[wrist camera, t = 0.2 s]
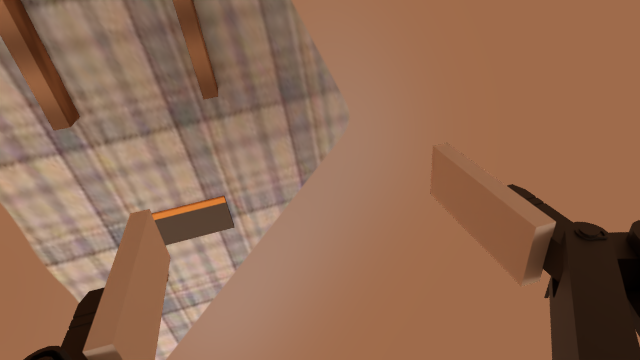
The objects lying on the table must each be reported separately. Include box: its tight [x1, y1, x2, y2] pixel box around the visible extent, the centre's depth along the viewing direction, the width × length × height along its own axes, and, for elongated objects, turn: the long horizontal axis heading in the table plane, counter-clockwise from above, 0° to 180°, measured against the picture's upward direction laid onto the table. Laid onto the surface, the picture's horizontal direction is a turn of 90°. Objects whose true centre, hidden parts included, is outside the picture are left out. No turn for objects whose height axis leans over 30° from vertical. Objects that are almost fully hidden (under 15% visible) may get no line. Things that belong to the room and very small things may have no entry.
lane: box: [0, 0, 218, 130], centre depth 34 cm, size 16×16×3 cm
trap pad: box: [152, 196, 234, 245], centre depth 47 cm, size 5×10×1 cm, turn 98°
